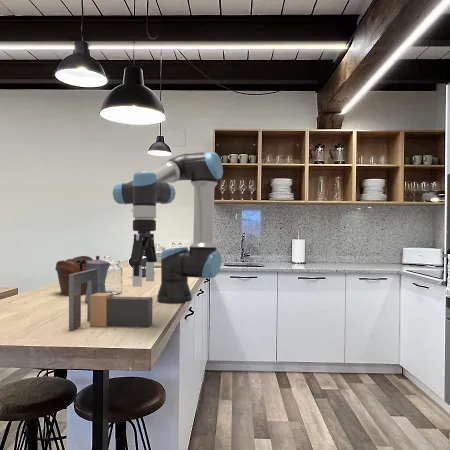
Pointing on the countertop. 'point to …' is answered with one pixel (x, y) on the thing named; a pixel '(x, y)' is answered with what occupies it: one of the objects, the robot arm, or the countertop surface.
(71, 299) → the grey arch
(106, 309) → the plug
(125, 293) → the countertop surface
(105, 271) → the moka pot
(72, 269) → the case
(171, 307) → the countertop surface
